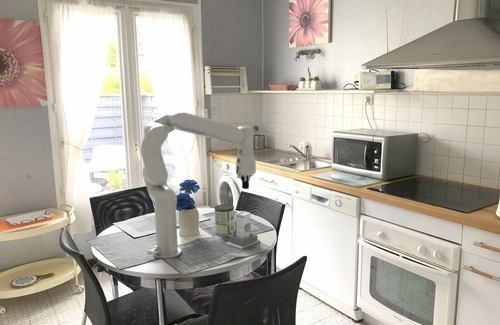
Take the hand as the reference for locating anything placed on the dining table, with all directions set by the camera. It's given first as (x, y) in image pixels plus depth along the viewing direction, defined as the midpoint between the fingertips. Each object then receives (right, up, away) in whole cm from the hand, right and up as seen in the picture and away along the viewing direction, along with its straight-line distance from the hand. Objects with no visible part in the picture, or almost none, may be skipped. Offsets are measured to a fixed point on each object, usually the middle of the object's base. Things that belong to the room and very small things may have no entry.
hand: (245, 188), depth 204 cm
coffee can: (-11, -24, +14) cm, 30 cm away
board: (-1, -27, 0) cm, 27 cm away
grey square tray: (-1, -27, 0) cm, 27 cm away
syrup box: (-1, -26, -1) cm, 26 cm away
